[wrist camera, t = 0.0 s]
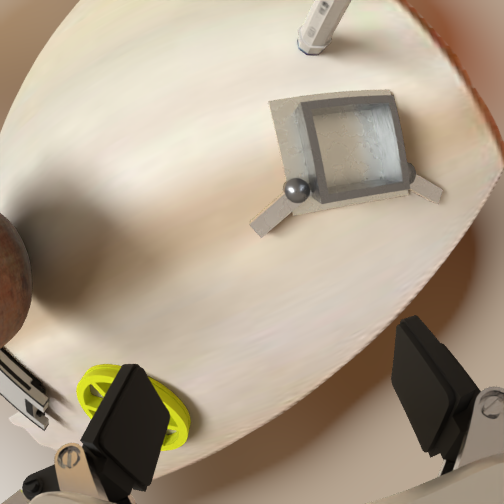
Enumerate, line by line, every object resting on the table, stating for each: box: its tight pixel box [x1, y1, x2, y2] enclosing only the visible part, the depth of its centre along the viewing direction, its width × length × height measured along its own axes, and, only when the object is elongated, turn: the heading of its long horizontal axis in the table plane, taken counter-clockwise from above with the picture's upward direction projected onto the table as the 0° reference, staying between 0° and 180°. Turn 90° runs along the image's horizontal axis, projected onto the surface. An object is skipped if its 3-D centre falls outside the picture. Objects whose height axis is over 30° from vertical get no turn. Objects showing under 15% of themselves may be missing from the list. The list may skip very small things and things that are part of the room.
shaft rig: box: [249, 90, 443, 238], centre depth 32 cm, size 18×30×7 cm, turn 102°
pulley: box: [76, 364, 191, 451], centre depth 51 cm, size 28×28×5 cm
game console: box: [0, 348, 49, 431], centre depth 52 cm, size 21×32×8 cm, turn 58°
